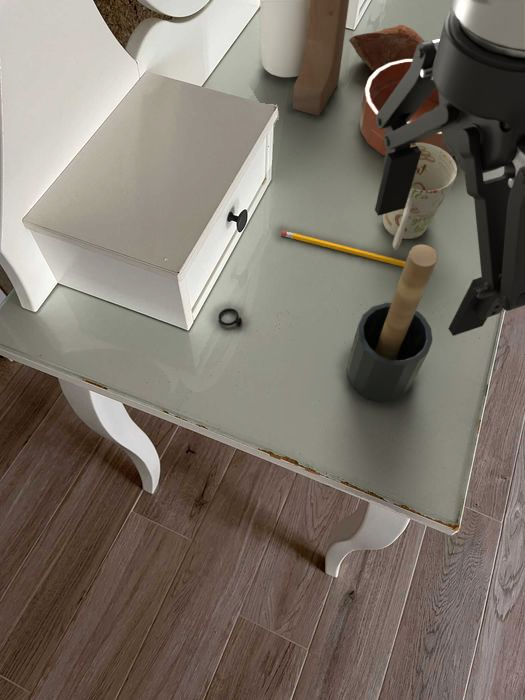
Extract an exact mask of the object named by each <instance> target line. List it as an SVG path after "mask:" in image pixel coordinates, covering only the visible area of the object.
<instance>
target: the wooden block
mask: <svg viewBox="0 0 525 700" xmlns="http://www.w3.org/2000/svg"><path fill="white" fill-rule="evenodd" d="M349 4H350V0H310V12H309V25H308V39H307V47H306V54H305V59H304V62H303V66H302V69H301V73H300V74H299V75H298V76H297V79H296V81H295V83H294V85H293V86H294V87H293V100H292V101H293V102H292V105H293V106H292V109H293V110H296V111H299V112H301V113H306V114H310V115H313V116H316V117H319V116H320V115H321V114H322V112H323V110H324V108H325V106H326V105H327V103H328V101H329V100H330V98H331V97H332V94H333V93H334V91H335V90H336V88H337V86H338V84H339V82H340V81H339V80H340V72H341V66H342V58H343V52H344V51H343V50H344V44H345V43H344V42H345V36H346V27H347V21H348V13H349V12H348V11H349Z"/></svg>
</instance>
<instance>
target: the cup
mask: <svg viewBox="0 0 525 700" xmlns="http://www.w3.org/2000/svg"><path fill="white" fill-rule="evenodd" d="M259 5H260V6H259V7H260V8H259V25H260V27H259V28H260V29H259V31H260V33H259V34H260V52H261V65H262V67H263V68H264V69H265V71H266V72H268V73H269V74H271V75H272V76H276V77H280V78H294V77H298V76H299V74H300V73H301V69H302V66H303V62H304V59H305V54H306V47H307V39H308V25H309V12H310V0H260V4H259Z"/></svg>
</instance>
